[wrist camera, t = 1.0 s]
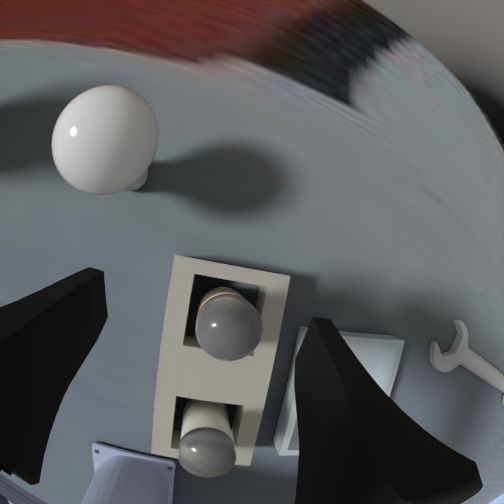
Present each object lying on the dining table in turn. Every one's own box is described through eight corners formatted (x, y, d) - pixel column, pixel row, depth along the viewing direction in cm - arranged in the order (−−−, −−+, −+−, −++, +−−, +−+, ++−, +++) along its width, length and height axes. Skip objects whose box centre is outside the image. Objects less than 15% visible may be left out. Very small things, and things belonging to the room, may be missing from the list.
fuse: (224, 430, 23) (231, 479, 16) (181, 424, 22) (176, 473, 15) (230, 395, 23) (240, 439, 16) (186, 388, 22) (180, 432, 15)
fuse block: (245, 446, 23) (249, 465, 20) (155, 435, 22) (151, 453, 19) (280, 274, 24) (290, 276, 21) (178, 255, 23) (174, 254, 20)
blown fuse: (241, 336, 23) (256, 365, 16) (194, 328, 23) (190, 355, 16) (249, 290, 23) (268, 301, 16) (202, 282, 23) (201, 290, 16)
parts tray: (359, 437, 24) (370, 449, 22) (272, 440, 23) (279, 455, 21) (389, 335, 25) (404, 340, 23) (299, 326, 24) (309, 332, 21)
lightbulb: (119, 131, 22) (74, 56, 11) (184, 154, 23) (172, 78, 12) (86, 199, 22) (13, 158, 11) (152, 227, 22) (108, 197, 11)
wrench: (438, 308, 28) (415, 358, 27) (451, 310, 25) (427, 363, 25) (519, 375, 30) (504, 408, 29) (528, 378, 28) (513, 412, 27)
